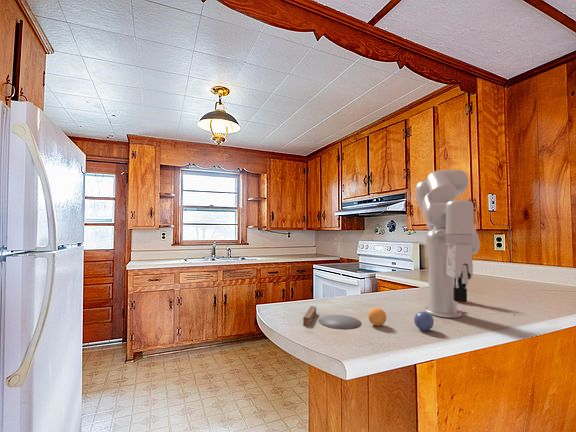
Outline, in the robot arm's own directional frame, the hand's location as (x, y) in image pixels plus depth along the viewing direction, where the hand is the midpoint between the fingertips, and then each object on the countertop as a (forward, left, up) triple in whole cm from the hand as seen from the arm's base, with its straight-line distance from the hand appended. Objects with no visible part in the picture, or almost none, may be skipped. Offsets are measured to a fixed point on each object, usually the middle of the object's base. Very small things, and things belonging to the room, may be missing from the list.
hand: (460, 301), depth 90 cm
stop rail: (+26, -38, -10) cm, 47 cm away
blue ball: (+5, -9, -7) cm, 12 cm away
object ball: (+13, -20, -7) cm, 25 cm away
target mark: (+20, -30, -10) cm, 37 cm away
